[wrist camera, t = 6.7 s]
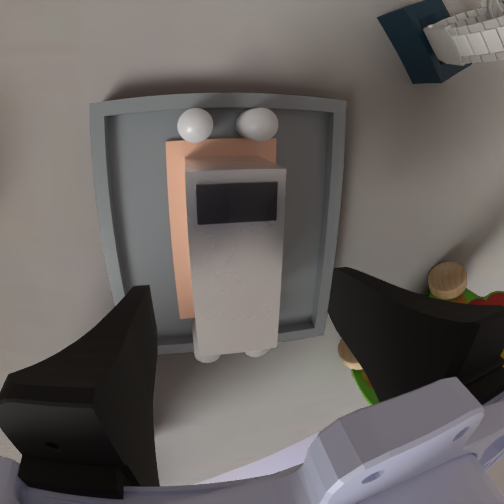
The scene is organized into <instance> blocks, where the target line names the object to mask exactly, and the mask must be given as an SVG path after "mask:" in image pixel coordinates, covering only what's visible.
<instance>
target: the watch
mask: <svg viewBox="0 0 504 504" xmlns="http://www.w3.org/2000/svg"><path fill="white" fill-rule="evenodd" d="M480 5H481V7H483V8H479V9H474V10H471V11H467V12H463V13H460V14H457V15H454V16H450V15H449V13H448V11H447V9H446V7H445V5H444V4H443V2H442V0H424V1H421V2H418V3H415V4H412V5H409V6H406V7H403V8H401V9H398V10H395V11H393V12H390V13H387V14H385V15H382V16H380V17H378V18H377V19H378V20H379V22H380V24H381V25H382V27H383V29H384V30H385V32H386V34H387V35H388V37H389V39H390V41H391V42H392V44H393V46H394V48H395V50H396V51H397V53H398V55H399V57H400V59H401V61H402V63H403V65H404V67H405V69H406V71H407V73H408V75H409V77H410V79H411V81H412V83H413V84H420V83H442V82H444V81H446V80H447V79H449V78H450V77H452V76H454V75H455V74H457V73H458V72H460V71H462V70H463V69H465V68H466V67H468V66H470V65H471V64H472V63H482V62H490V61H497V58H498V60H504V48H503V47H504V0H483V1H482V2H481V3H480ZM465 13H466V14H465ZM466 15H467V16H466ZM467 17H468V18H467ZM475 17H476V18H475ZM464 19H465V20H464ZM476 19H477V20H476ZM465 21H466V22H465ZM477 21H478V22H477ZM466 23H467V24H466ZM485 43H486V44H485ZM486 45H487V46H486ZM488 50H489V51H488ZM495 53H496V55H495ZM496 56H497V57H496Z"/></svg>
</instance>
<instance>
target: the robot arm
mask: <svg viewBox="0 0 504 504" xmlns="http://www.w3.org/2000/svg"><path fill="white" fill-rule="evenodd" d="M327 311H328V313H329V316H330V318H331V320H332V322H333V324H334V326H335V328H336V330H337V332H338V333H339V335H340V336H341V338H342V339H343V341H344V342H345V344H346V345H347V346H348V348H349V349H350V351H351V352H352V354H353V355H354V357H355V358H356V360H357V361H358V363H359V364H360V365H361V367H362V369H363V370H364V372H365V374H366V375H367V377H368V379H369V381H370V383H371V385H372V387H373V389H374V391H375V394H376V396H377V398H378V400H379V403H377V404H374V405H371V406H367V407H364V408H361V409H359V410H356V411H354V412H352V413H350V414H347V415H345V416H343V417H340V418H338V419H337V420H336V421H334V422H333V423H332V424H330V425H329V426H327V427H326V428H325V429H323V430H322V431H320V433H319V434H318V436H317V437H316V439H315V440H314V442H313V443H312V444H311V446H310V447H309V449H308V452H307V456H306V458H305V462H304V463H302V464H300V465H297V466H294V467H291V468H289V469H286V470H283V471H280V472H277V473H274V474H271V475H266V476H261V477H255V478H249V479H243V480H236V481H228V482H219V483H210V484H199V485H185V486H161V487H160V485H159V478H158V471H157V462H156V453H155V442H154V428H153V391H154V381H155V371H156V362H157V352H158V342H157V325H156V320H155V314H154V309H153V303H152V297H151V290H150V285H139V286H133V287H132V288H131V289H130V290H129V292H128V293H127V294H126V295H125V296H124V297H123V298H122V300H121V301H120V302H119V303H118V304H117V305H116V306H115V307H114V308H113V309H112V310H111V311H110V312H109V313H108V314H107V315H106V316H105V317H104V318H103V319H102V320H101V321H100V322H99V323H98V324H97V325H96V326H95V327H94V328H93V329H91V330H90V331H89V332H88V333H86V334H85V335H84V336H83V337H81V338H80V339H79V340H77V341H76V342H74V343H73V344H71V345H69V346H68V347H66V348H65V349H63V350H62V351H60V352H58V353H57V354H55V355H53V356H51V357H49V358H47V359H45V360H43V361H41V362H39V363H37V364H35V365H32V366H30V367H27V368H24V369H22V370H19V371H16V372H14V373H11V374H8V376H7V378H6V380H5V382H4V385H3V387H2V389H1V391H0V428H1V429H2V431H3V432H4V433H5V435H6V436H7V437H8V438H9V440H10V441H11V442H12V443H13V445H14V446H15V447H16V448H17V449H18V450H19V452H20V453H21V454H22V459H21V463H20V464H19V463H18V462H16V461H14V460H12V459H9V458H6V457H2V456H0V504H504V495H503V494H502V493H501V491H500V490H499V488H498V487H497V486H496V484H495V483H494V481H493V480H492V479H491V477H490V476H489V475H488V473H487V472H486V470H487V469H489V468H490V467H491V466H492V465H493V464H495V463H496V462H497V461H498V460H499V459H500V458H502V457H503V456H504V367H503V365H504V359H503V358H502V357H501V354H502V352H503V350H504V306H501V305H475V304H464V303H456V302H450V301H445V300H440V299H436V298H431V297H428V296H424V295H421V294H417V293H414V292H411V291H408V290H405V289H403V288H400V287H397V286H395V285H392V284H390V283H387V282H385V281H382V280H380V279H378V278H375V277H373V276H370V275H368V274H366V273H363V272H360V271H358V270H355V269H352V268H348V267H343V268H333V275H332V283H331V290H330V297H329V304H328V310H327Z"/></svg>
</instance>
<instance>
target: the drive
mask: <svg viewBox="0 0 504 504" xmlns="http://www.w3.org/2000/svg"><path fill="white" fill-rule="evenodd" d="M185 188H186V208H187V226H188V241H189V255H190V268H191V280H192V292H193V302H194V312H195V322H196V331H197V340H198V349H199V357H202V356H213V355H223V354H232V353H240V352H249V351H256V350H264V349H271V348H277V339H278V325H279V310H280V294H281V277H282V259H283V239H284V217H285V193H286V168H283V167H281V166H279V165H277V164H275V163H273V162H271V161H269V160H266V159H264V158H262V157H260V156H221V157H197V158H185Z"/></svg>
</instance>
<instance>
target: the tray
mask: <svg viewBox="0 0 504 504" xmlns="http://www.w3.org/2000/svg"><path fill="white" fill-rule="evenodd" d="M345 131H346V101H345V100H338V99H329V98H320V97H310V96H298V95H284V94H266V93H189V94H170V95H157V96H145V97H135V98H126V99H118V100H110V101H103V102H97V103H90V134H91V152H92V166H93V177H94V187H95V196H96V205H97V213H98V220H99V227H100V233H101V240H102V246H103V252H104V257H105V263H106V268H107V273H108V278H109V283H110V288H111V292H112V297H113V301H114V306H116V305H117V304H118V303H119V302H120V301H121V300H122V298H123V297H124V296H125V295H126V294H127V293H128V292H129V290H130V289H131V288H132V287H133V286H139V285H150V290H151V297H152V303H153V309H154V314H155V320H156V325H157V342H158V352H157V355H161V354H175V353H188V352H194V355H195V358H196V359H197V360H198V361H200V362H203V363H211V362H214V361H216V360H217V359H218V358H219V357H220V355H213V356H202V357H199V349H198V340H197V331H196V322H195V312H194V302H193V292H192V280H191V268H190V255H189V241H188V226H187V208H186V188H185V158H197V157H221V156H260V157H262V158H264V159H266V160H269V161H271V162H273V163H275V164H277V165H279V166H281V167H283V168H286V193H285V217H284V239H283V259H282V277H281V294H280V310H279V325H278V339H277V342H284V341H291V340H297V339H304V338H310V337H316V336H322V335H324V330H325V324H326V317H327V310H328V304H329V297H330V290H331V283H332V275H333V268H334V261H335V253H336V244H337V235H338V226H339V216H340V205H341V194H342V181H343V167H344V151H345ZM268 350H269V349H264V350H256V351H249V352H245V353H246V354H247V355H248V356H250V357H260V356H263V355H264V354H266V353H267V352H268Z"/></svg>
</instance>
